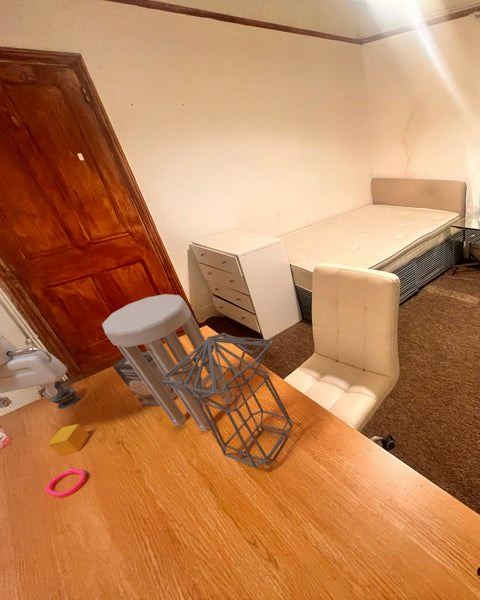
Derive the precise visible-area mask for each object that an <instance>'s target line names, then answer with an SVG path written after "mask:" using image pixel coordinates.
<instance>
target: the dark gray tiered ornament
mask: <svg viewBox="0 0 480 600" xmlns="http://www.w3.org/2000/svg"><path fill="white" fill-rule="evenodd" d="M55 388H56V389H57V390H58V393H57V394H56V396H54V397H49V398H48V399H49V402H51V403H53V404H56V405H57V404H58V405H57V408H58V409H60V410H63V409H67V408H69V407H71V406H74V405H75V404H77V403H78V402H79V401H80V400H81V398H82V397H81V396H82V395H80V394H77V392H76V387H75V386H65V385H64V383H63V381H62V380H59V381H57V382H55ZM60 390H61V391H60Z"/></svg>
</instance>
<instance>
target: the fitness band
mask: <svg viewBox="0 0 480 600" xmlns="http://www.w3.org/2000/svg"><path fill="white" fill-rule="evenodd" d="M68 475H69V476H70V475H79V476H80V478H79V479H78V481H77V483H76V484H75V485H73V486H72V487H71V488H69V489H67V490H65V491H57V490H53V487H54V486H55V484H57V482H58V481H60V480H61V479H63V478H64V477H66V476H68ZM87 475H88V473H87V472H86V471H84V470H82V469H80V468H79V469H78V468H74V467H70V468H69V469H68V470H66V471H64V472H61V473H60V474H58V475H57V476H55V477H54V478H52V479H51V480H50V481H49V482H48V483H47V484H46V486H45V487H44V490H45V493H46V494H48V495H49V496H52V497H55V498H62V499H63V498H66V497H69V496H71V495H73V494H74V493H76V492H77V491H79V489H80V488H81V487H82V486H83V484H84V482H85V480H86V478H87V477H86V476H87Z"/></svg>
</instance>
